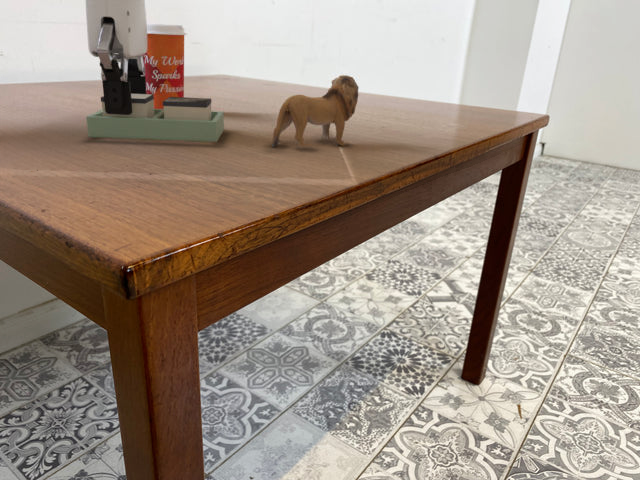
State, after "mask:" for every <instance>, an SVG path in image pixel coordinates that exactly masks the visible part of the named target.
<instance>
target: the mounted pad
mask: <svg viewBox="0 0 640 480" xmlns="http://www.w3.org/2000/svg"><path fill="white" fill-rule="evenodd" d="M163 106H164V119H180V120H205V121H212V119H211V111H212V98H206V97H205V98H204V97H185V96H184V97H169V98H167V99H166V100H164V101H163Z"/></svg>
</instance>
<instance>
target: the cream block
mask: <svg viewBox="0 0 640 480" xmlns="http://www.w3.org/2000/svg"><path fill="white" fill-rule="evenodd" d="M131 99H132V114H130V115H120V114H107V113H106V112H105V104H104V95H103V96H100V102H101V108H102V109H101V110H102V111H103V116H105V117H130V118H152V117H153V116H155V115H154V101H153V99H154V95H151V94H131Z"/></svg>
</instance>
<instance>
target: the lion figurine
mask: <svg viewBox="0 0 640 480" xmlns="http://www.w3.org/2000/svg"><path fill="white" fill-rule="evenodd" d="M359 88H360V87H359V85H358V84H357V81H356V80H355V79H354V77H353V76H349V75H346V74H345V75H344V74H342V75H339V76H338V77H335V78H334V79H332V80H331V86H330V87H329V88H328V90H327V92H326V93H325V94H324V95H322V96H318V97H311V96H306V95H304V94H295V95H291V96H289V97H288V98H286V99H285V100H284V102H282V105H281V107H280V109H279V111H278V115H277V116H278V117H277V120H276V121H277V122H276V127H275V128H274V129H273V134H272V144H271V148H276V147H278V145H279V144H283V142H282V140H280V136H281V134H282V132H284V131H285V130H286V129H287V128H288V127H290V126H291V125H292V123H293V125H294V128H295V134H294V139H295V141H296V142H297V144H298V145H299V146H301V147H309V146H311V145H310V144H309V143H306V142H305V141H304V133H305V130H306V127H307V125H308V123H309V124H311V125H314V126H322V127H321V128H322V132H321V133H322V134H321V139H323V140H329V139H330V128H331V127H330V126H331V124H334V125H335V137H334V140H335V142H336V144H337V146H342V147H343V146H346V142H345V141H344V140H343V135H344V131H345V128H346V127H345V126H346V122H348V121H349V120H350V118H352V117H353V115H354V114H355V112H356V108H357V105H358V98H359Z"/></svg>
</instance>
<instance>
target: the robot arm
mask: <svg viewBox="0 0 640 480" xmlns="http://www.w3.org/2000/svg"><path fill="white" fill-rule="evenodd" d="M85 13H86V14H85V15H86V17H85V19H86V32H87V33H86V35H87V47H88V52H89V54H90V55H91V56H92V57H95V58H98V59H99V67H100V68H101V70H100V71H101V72H100V77H101V82H102V91H103V96H104V104H105V112H106V113H107V114H120V115H130V114H132V99H131V94H147V93H146V77H145V67H144V62H143V61H144V60H143V59H144V57H143V55H144V54H145V53H146V52H147V24H148V23H147V11H146V2H145V0H85ZM119 64H120V65H119Z"/></svg>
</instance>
